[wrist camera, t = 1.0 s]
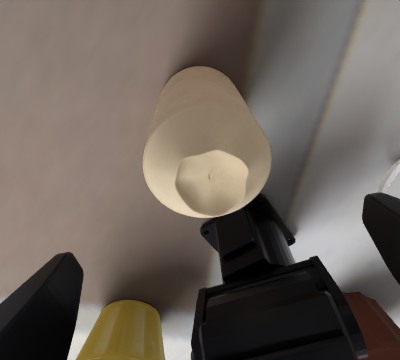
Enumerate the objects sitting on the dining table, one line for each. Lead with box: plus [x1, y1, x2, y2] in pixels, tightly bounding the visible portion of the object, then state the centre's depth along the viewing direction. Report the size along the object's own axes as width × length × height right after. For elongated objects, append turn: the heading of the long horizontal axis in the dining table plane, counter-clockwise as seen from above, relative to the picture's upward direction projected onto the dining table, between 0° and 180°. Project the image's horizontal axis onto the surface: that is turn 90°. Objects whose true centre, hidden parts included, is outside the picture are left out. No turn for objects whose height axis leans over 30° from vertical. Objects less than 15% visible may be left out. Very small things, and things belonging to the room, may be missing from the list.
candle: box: [143, 66, 272, 218], centre depth 15 cm, size 6×6×10 cm
